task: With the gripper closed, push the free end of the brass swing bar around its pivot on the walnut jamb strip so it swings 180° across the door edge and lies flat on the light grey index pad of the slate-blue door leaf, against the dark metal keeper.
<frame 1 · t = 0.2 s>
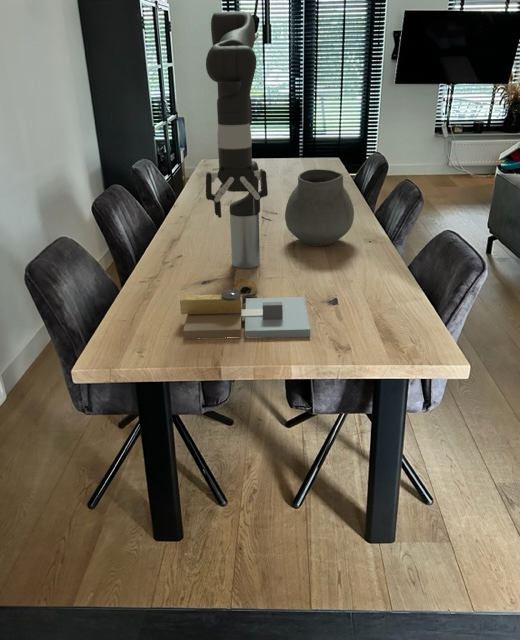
hand: (237, 215, 134), 29 cm above the table, tool pointing down, fingers open, 8 cm apart
ceramic pot: (318, 243, 207), on the table
door mock-up: (243, 320, 149), on the table
swing bar: (211, 302, 147), point 5 cm above the table, hinge at 0.0°
pastry: (244, 292, 167), on the table
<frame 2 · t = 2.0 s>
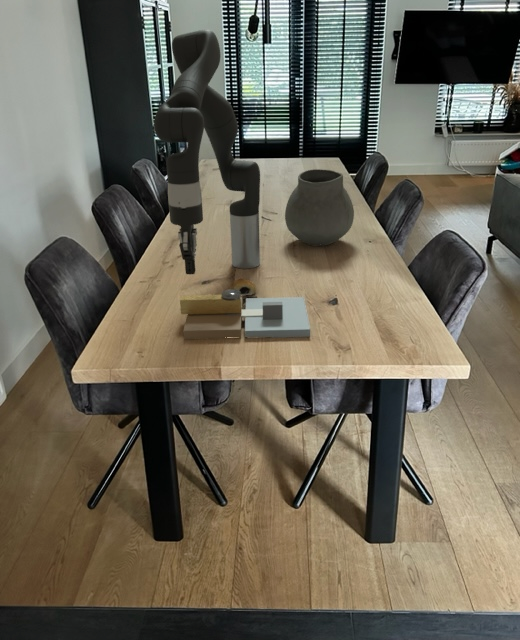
hand: (190, 273, 136), 16 cm above the table, tool pointing down, fingers closed
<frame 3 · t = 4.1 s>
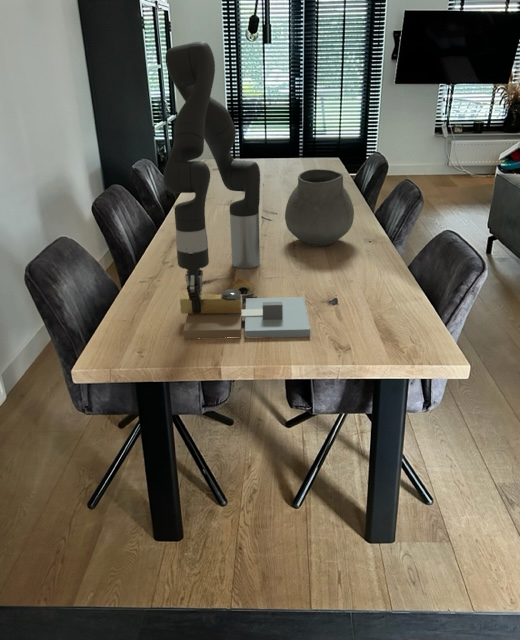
hand: (197, 312, 144), 4 cm above the table, tool pointing down, fingers closed
swing bar: (211, 302, 147), point 5 cm above the table, hinge at 2.3°, touching gripper
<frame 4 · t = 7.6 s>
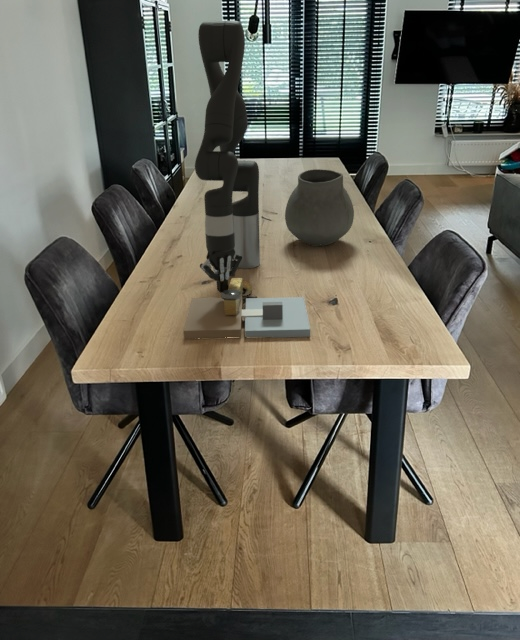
hand: (222, 292, 155), 4 cm above the table, tool pointing down, fingers closed
swing bar: (233, 293, 151), point 5 cm above the table, hinge at 95.1°, touching gripper
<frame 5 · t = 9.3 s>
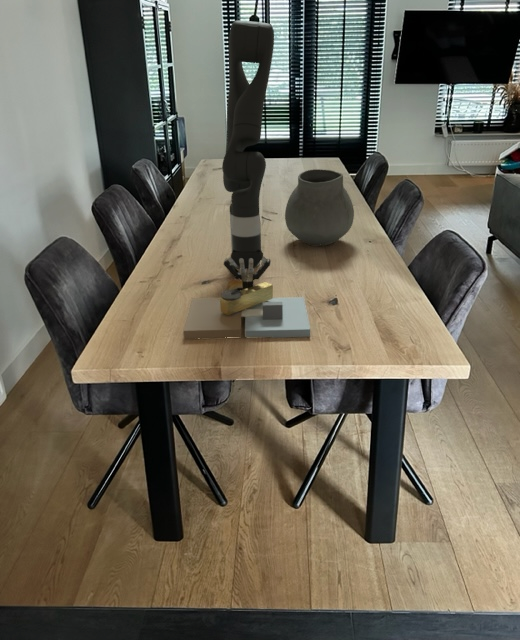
hand: (248, 292, 155), 4 cm above the table, tool pointing down, fingers closed
swing bar: (247, 296, 150), point 5 cm above the table, hinge at 139.2°, touching gripper
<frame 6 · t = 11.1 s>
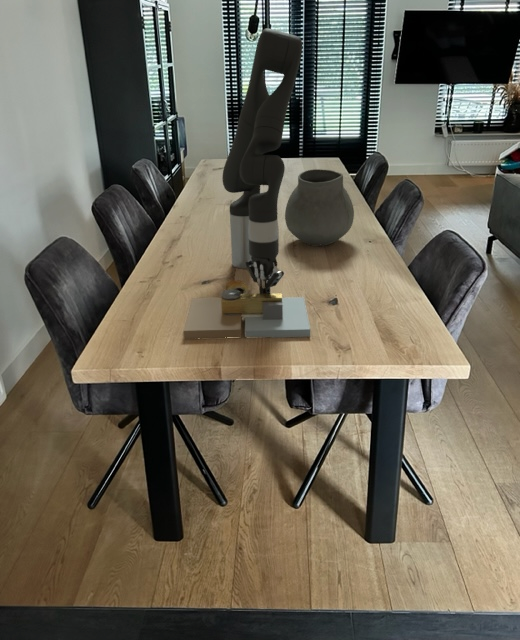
hand: (264, 299, 150), 4 cm above the table, tool pointing down, fingers closed
swing bar: (251, 301, 147), point 5 cm above the table, hinge at 180.6°, touching gripper
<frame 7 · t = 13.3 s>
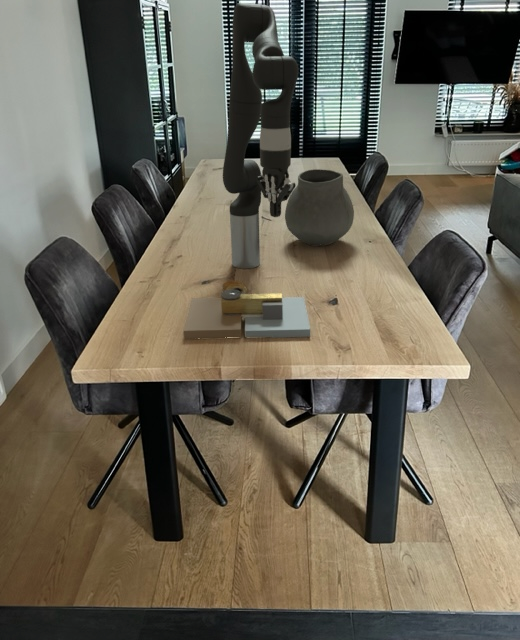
hand: (275, 216, 146), 25 cm above the table, tool pointing down, fingers closed
swing bar: (251, 301, 147), point 5 cm above the table, hinge at 180.6°
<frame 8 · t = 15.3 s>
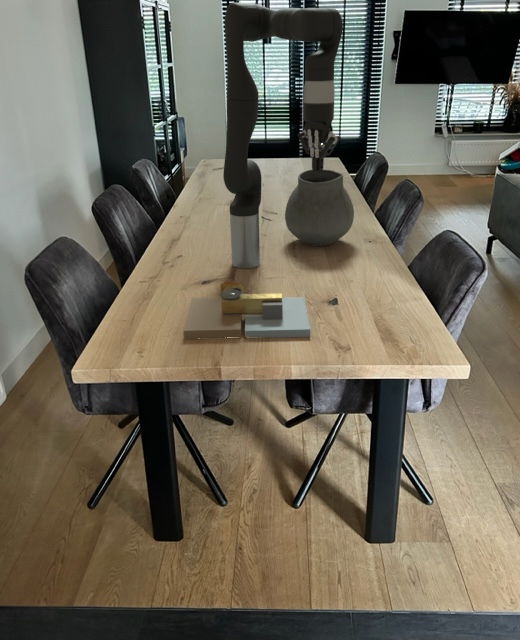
hand: (317, 171, 147), 35 cm above the table, tool pointing down, fingers closed
at the end: swing bar at +181° (first picture: +0°); swing bar touching nothing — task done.
